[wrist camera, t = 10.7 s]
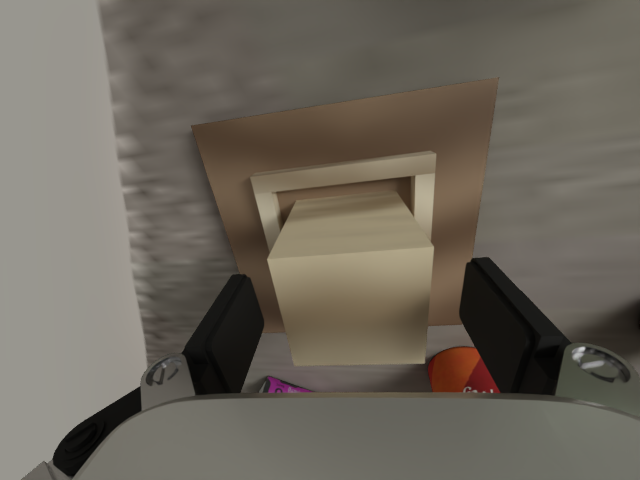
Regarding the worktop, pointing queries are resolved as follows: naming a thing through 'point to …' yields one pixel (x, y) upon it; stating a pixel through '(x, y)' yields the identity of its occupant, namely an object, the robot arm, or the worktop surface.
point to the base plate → (356, 175)
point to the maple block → (353, 281)
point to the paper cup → (460, 372)
